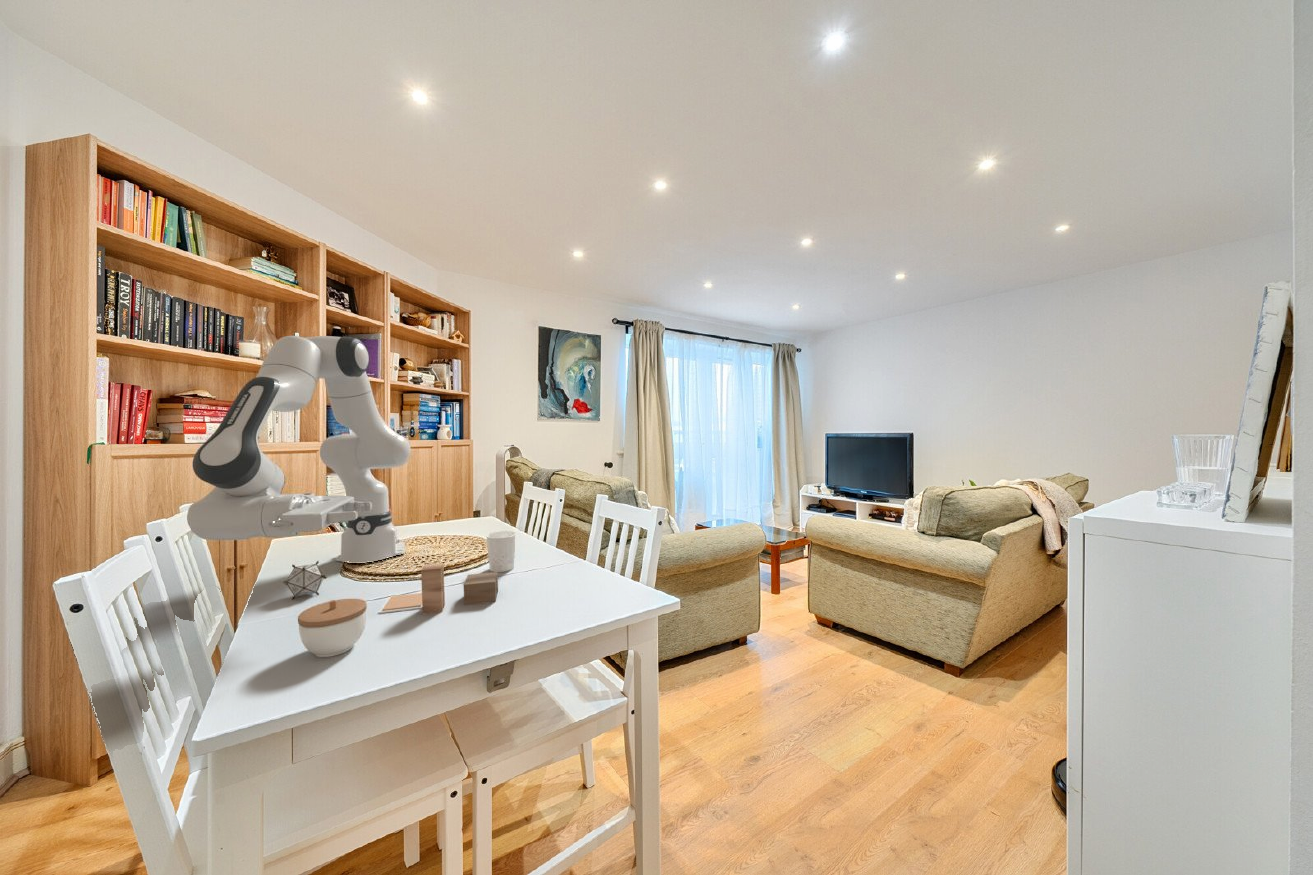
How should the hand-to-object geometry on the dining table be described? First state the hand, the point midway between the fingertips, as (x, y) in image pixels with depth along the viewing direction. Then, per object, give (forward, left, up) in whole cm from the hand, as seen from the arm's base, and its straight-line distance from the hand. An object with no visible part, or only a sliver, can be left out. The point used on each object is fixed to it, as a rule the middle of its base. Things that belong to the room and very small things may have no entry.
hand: (364, 510), depth 101 cm
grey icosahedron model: (-19, -19, -24) cm, 36 cm away
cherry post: (0, +13, -24) cm, 27 cm away
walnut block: (-4, +23, -24) cm, 34 cm away
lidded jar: (+14, -2, -24) cm, 28 cm away
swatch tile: (-6, +6, -24) cm, 25 cm away
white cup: (-25, +27, -24) cm, 44 cm away
